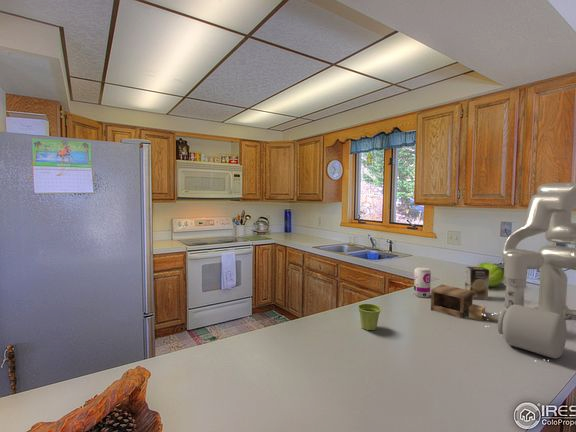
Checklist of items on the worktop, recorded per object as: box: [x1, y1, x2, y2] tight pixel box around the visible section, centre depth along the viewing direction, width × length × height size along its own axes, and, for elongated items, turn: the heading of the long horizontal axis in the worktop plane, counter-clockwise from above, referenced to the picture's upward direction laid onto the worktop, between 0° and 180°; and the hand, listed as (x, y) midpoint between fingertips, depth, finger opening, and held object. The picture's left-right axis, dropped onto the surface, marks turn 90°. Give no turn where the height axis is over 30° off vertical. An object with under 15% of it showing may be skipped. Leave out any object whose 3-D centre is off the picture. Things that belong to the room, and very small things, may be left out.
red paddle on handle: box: [468, 303, 498, 323], centre depth 133 cm, size 17×5×6 cm, turn 43°
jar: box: [482, 304, 568, 362], centre depth 111 cm, size 19×15×25 cm
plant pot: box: [357, 302, 382, 331], centre depth 127 cm, size 9×9×9 cm
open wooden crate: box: [430, 284, 474, 319], centre depth 145 cm, size 14×12×10 cm
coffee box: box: [464, 266, 489, 301], centre depth 164 cm, size 9×6×16 cm
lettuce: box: [475, 262, 504, 288], centre depth 185 cm, size 15×22×15 cm
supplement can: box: [413, 266, 432, 299], centre depth 168 cm, size 8×8×15 cm
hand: (512, 323), depth 128 cm, fingers open, 8 cm apart
